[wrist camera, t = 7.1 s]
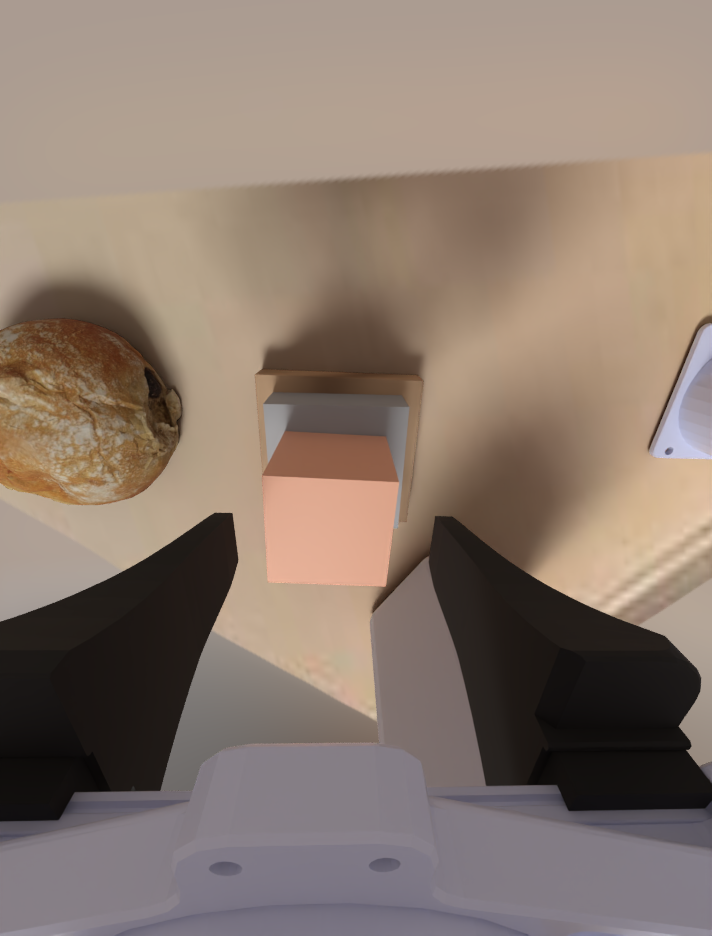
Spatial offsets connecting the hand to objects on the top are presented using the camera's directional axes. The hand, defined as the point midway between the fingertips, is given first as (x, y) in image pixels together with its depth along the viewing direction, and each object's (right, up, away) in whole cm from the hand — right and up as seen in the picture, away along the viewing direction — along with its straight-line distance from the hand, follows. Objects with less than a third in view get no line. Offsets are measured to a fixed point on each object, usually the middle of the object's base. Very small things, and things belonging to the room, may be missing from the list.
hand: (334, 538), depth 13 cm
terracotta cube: (0, +2, +6) cm, 6 cm away
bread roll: (-15, +6, +9) cm, 18 cm away
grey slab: (0, +3, +8) cm, 9 cm away
